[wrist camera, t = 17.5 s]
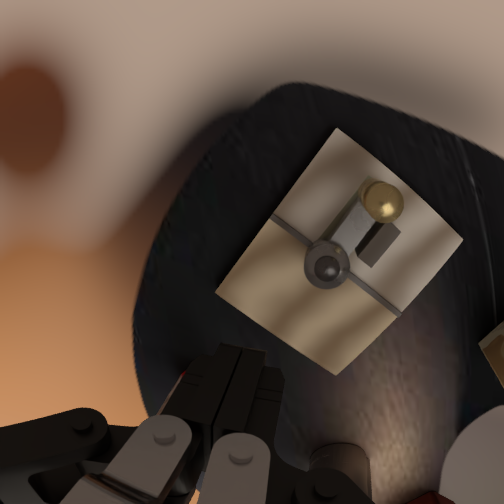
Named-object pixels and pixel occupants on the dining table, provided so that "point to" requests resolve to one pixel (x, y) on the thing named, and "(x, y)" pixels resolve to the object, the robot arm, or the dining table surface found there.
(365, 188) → the latch arm
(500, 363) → the skincare box
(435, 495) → the plant pot
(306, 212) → the door board
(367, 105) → the dining table surface
